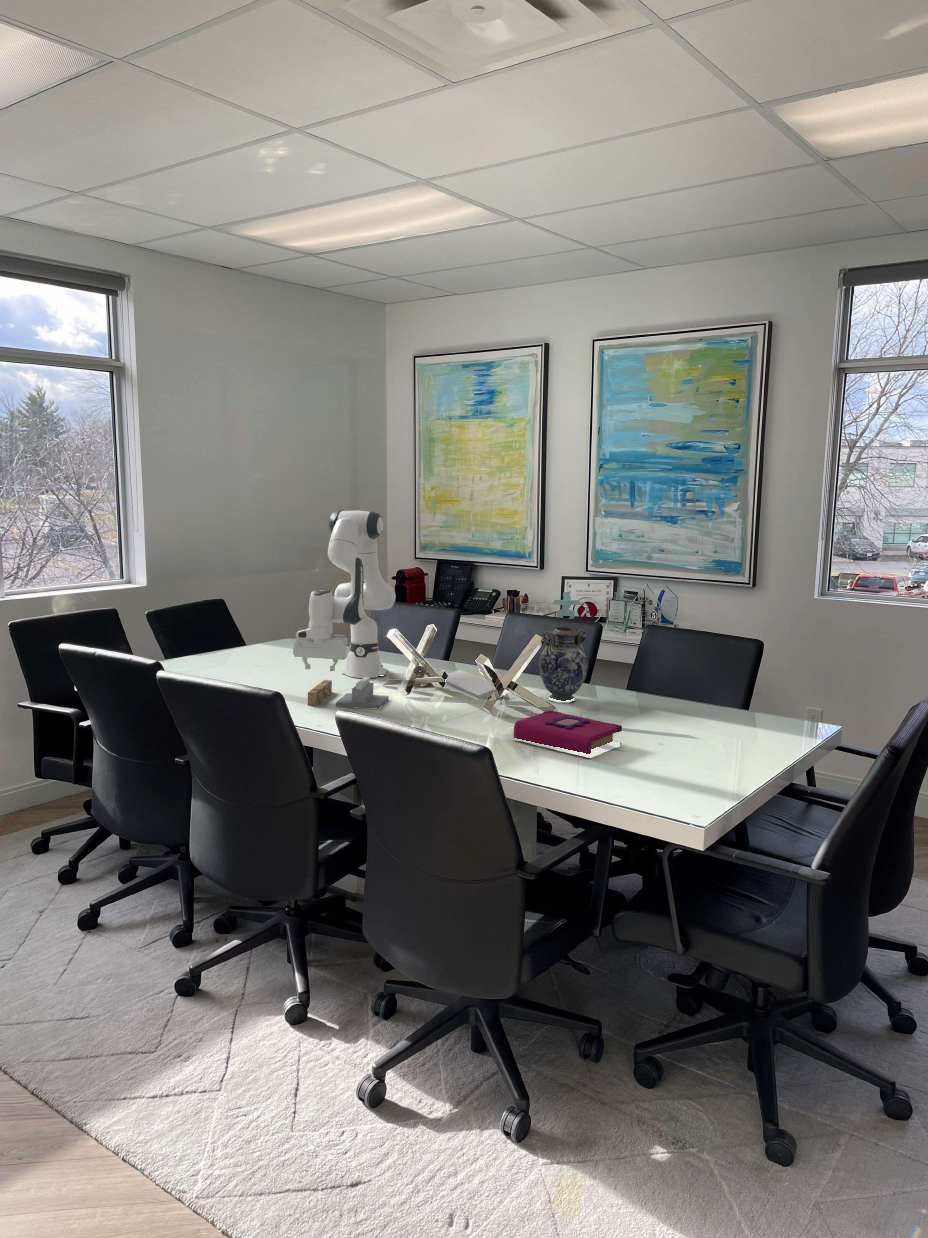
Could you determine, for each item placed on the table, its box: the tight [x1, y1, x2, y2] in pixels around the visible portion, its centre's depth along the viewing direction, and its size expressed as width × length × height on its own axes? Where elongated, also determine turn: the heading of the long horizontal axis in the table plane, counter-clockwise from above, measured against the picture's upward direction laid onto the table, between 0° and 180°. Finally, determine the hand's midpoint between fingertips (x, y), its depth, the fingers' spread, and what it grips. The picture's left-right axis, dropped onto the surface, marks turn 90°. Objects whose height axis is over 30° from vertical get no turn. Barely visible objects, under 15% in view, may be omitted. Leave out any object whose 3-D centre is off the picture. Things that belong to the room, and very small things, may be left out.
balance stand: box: [335, 677, 390, 710], centre depth 329 cm, size 15×16×8 cm
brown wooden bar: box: [307, 679, 333, 707], centre depth 334 cm, size 22×3×5 cm, turn 173°
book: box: [513, 710, 623, 754], centre depth 285 cm, size 21×28×8 cm
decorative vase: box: [538, 626, 589, 701], centre depth 343 cm, size 21×19×28 cm
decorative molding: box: [445, 669, 494, 700], centre depth 359 cm, size 34×5×10 cm
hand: (320, 670), depth 333 cm, fingers open, 8 cm apart
